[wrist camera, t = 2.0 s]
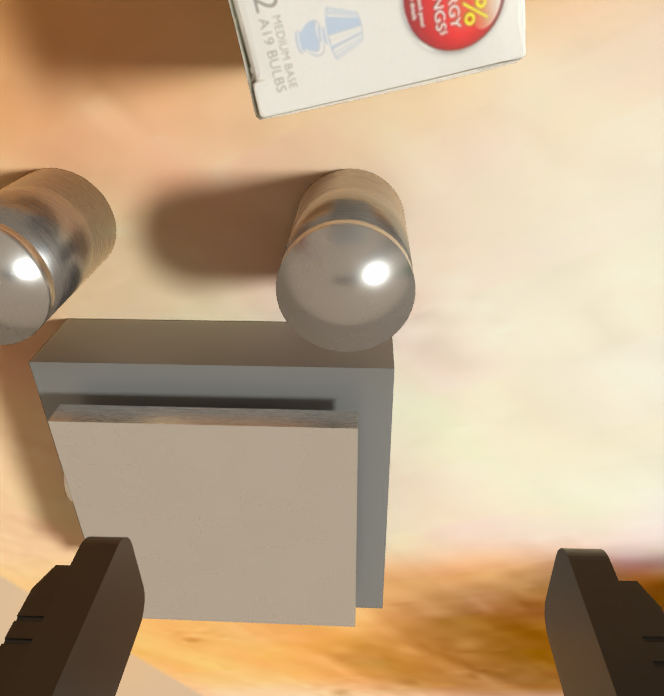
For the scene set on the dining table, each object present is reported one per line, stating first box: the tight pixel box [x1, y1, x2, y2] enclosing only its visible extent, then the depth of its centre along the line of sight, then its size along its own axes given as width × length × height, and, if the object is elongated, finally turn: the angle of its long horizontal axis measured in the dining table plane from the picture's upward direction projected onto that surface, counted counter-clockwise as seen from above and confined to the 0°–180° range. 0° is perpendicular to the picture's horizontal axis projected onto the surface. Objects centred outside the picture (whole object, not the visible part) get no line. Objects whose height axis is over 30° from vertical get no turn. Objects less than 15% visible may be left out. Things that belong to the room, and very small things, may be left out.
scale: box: [29, 319, 394, 608], centre depth 32 cm, size 16×16×4 cm
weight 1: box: [0, 168, 116, 345], centre depth 25 cm, size 5×5×7 cm
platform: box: [48, 404, 358, 627], centre depth 29 cm, size 13×13×1 cm
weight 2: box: [276, 169, 415, 352], centre depth 24 cm, size 5×5×7 cm
